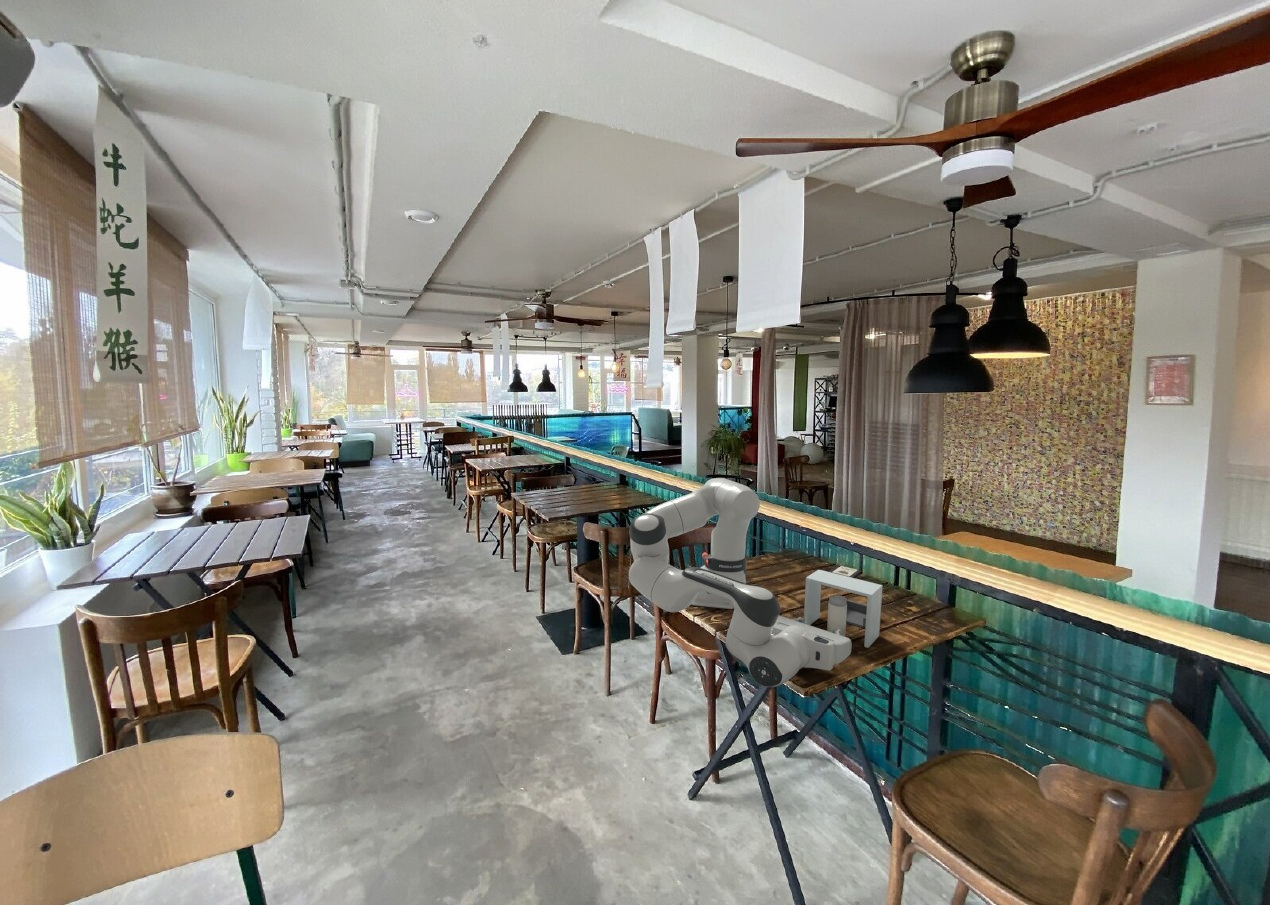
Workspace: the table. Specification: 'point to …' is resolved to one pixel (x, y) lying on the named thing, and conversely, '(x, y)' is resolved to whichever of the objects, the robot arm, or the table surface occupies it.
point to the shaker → (837, 613)
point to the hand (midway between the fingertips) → (819, 625)
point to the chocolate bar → (845, 571)
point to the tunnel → (849, 585)
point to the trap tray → (856, 613)
